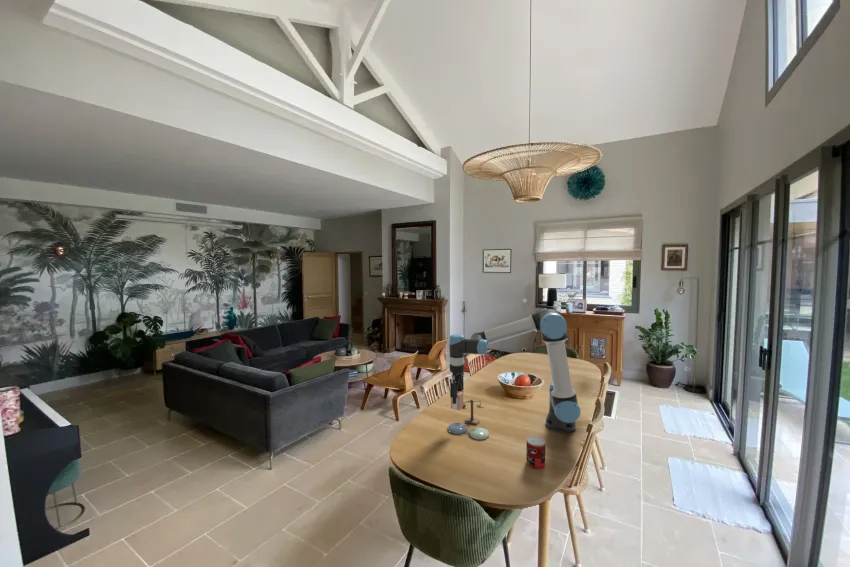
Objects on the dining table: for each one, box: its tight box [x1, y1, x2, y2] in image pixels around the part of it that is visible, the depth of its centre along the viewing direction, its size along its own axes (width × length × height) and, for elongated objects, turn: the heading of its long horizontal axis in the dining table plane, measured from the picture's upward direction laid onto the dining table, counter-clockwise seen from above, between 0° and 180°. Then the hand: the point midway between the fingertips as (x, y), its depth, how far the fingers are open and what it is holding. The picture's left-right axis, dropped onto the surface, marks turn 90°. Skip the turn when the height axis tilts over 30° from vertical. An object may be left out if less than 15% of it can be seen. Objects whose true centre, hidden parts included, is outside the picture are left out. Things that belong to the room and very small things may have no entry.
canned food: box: [525, 435, 546, 470], centre depth 156 cm, size 8×8×11 cm
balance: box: [460, 399, 485, 426], centre depth 195 cm, size 14×4×14 cm, turn 62°
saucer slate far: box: [447, 422, 468, 435], centre depth 188 cm, size 10×10×1 cm
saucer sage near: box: [468, 427, 490, 441], centre depth 182 cm, size 10×10×1 cm
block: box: [450, 391, 464, 411], centre depth 186 cm, size 5×5×8 cm
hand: (457, 406), depth 187 cm, fingers closed on block, 5 cm apart
